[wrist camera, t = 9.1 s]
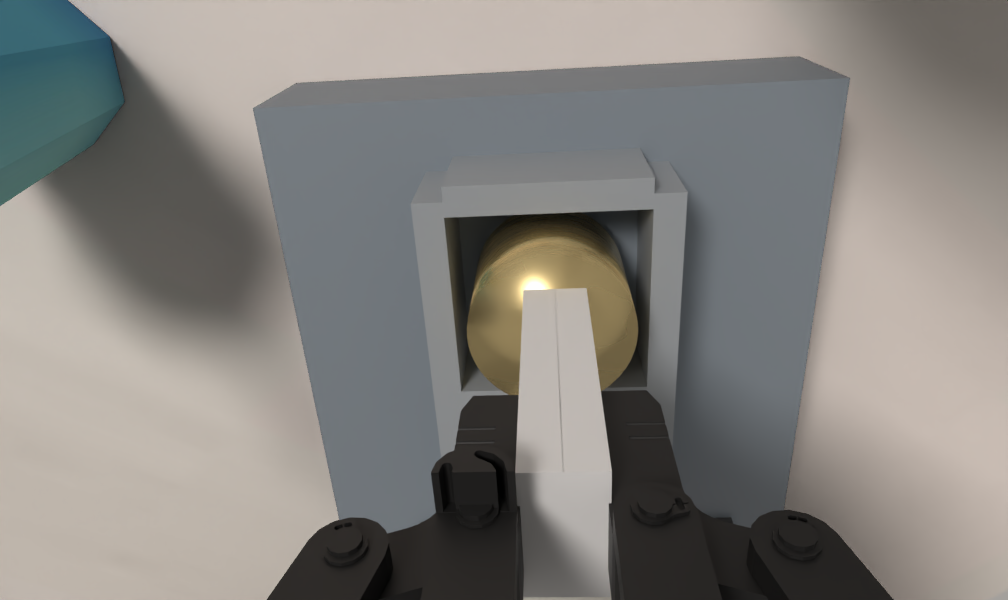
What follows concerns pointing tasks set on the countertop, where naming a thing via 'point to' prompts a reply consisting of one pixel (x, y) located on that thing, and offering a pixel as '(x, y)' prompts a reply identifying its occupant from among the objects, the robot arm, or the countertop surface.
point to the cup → (51, 89)
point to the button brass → (549, 265)
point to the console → (558, 189)
